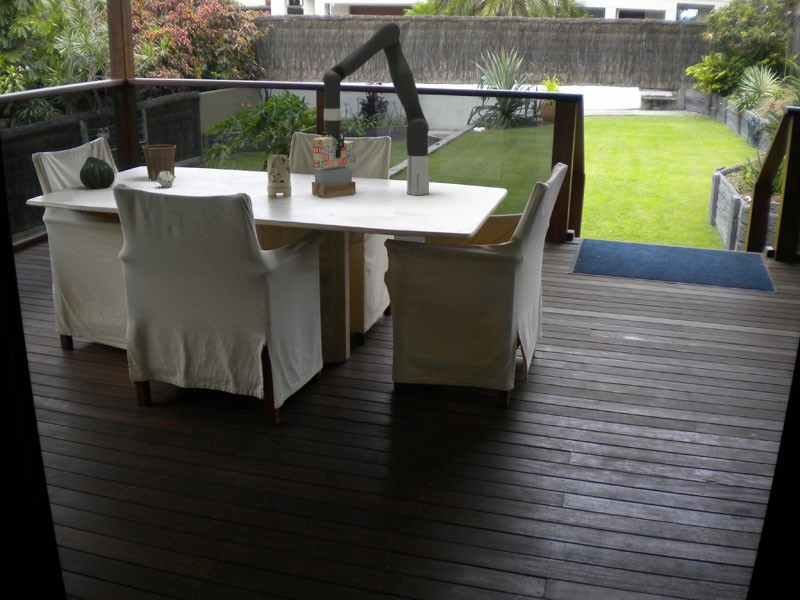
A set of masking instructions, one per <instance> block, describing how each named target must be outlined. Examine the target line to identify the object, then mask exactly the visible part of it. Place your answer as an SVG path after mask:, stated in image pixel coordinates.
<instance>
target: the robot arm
mask: <svg viewBox="0 0 800 600" xmlns="http://www.w3.org/2000/svg"><path fill="white" fill-rule="evenodd" d="M400 37H401V29H400V27H399V25H398V24H396V23H395V22H393V21H385V22H384V23H382V24H380V26H379V27H378V29H377V31H376V32H375V33H374V35H373V36H371V37H370V38H369V39H368V40H367V41H365V42H364V44H362V45H361V46H359V47H358V48H356V49H355V50H354V51H353V50H352V52H351V53H349V54H348V55H347V56H346V57H344V58H343V59H342V60H341V61H339V63H337V64H336V65H335V66H333V67H332V68H331V69H329V70H328V71H327V72H325V73H324V74H323V76H322V83H323V84H324V96H323V108H324V109H323V129H324V131H322V132H321V138H322V137H331V138H336V139H337V137H338V142H335V148H336V158H341V149H342V148H344V141H345V134H344V133H342V134H341V133H340V131H341V130H342V109H341V82H342V81H344V80H345V79H346V78H347V77H350V76H351V75H352V74H354V73H355V72H357V71H358V70H359V69H360V68H362V67H363V66H364V65H365V64H366V63H367V62H369V60H371V58H372V57H374V56H375V55H376V54H378V53H379V52H380V51H382V50H383V52H384V54H385V57H386V60H387V64H388V70H389V74H390V79H391V82H392V84H393V88H394V90H395V93H396V95H397V98H398V100H399V102H400V104H401V106H402V108H403V110H404V113H405V118H406V122H407V127H406V151H407V153H406V154H407V160H406V162H407V163H406V170H407V171H406V194H407V193H408V194H407V195H410V194H411V195H413V196H423V194H425V195H429V194H430V172H429V146H428V145H429V141H428V140H429V138H428V137H429V130H430V127H429V123H428V121H427V118H426V117H425V114H424V112H423V109H422V106H421V103H420V99H419V94H418V93H419V92H418V89H417V85H416V83H415V82H416V81H415V79H414V76H413V72H412V69H411V67H410V65H409V63H408V62H407V60H406V58H405V56H404V54H403V50H402V46H401V45H402V44H401V42H400V41H401V40H400ZM341 143H342V145H341ZM337 145H338V146H337ZM428 193H429V194H428Z"/></svg>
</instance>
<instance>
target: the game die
mask: <svg viewBox="0 0 800 600" xmlns="http://www.w3.org/2000/svg"><path fill="white" fill-rule="evenodd" d="M176 177H177V176H175V175H174V176H173V175H172V174H171V173H170V172H169V170H168V171H162V172H160V171H159V175H158V178H157V180H156V181H155V182H157V183H158V184H159V185H160V186H161V188H162V189H164V188H165V187H172V186H173V183H174V180H175V178H176Z"/></svg>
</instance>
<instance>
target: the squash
mask: <svg viewBox="0 0 800 600" xmlns="http://www.w3.org/2000/svg"><path fill="white" fill-rule="evenodd" d="M115 175H116V174H115V172H114V169H113V168H112V166H111V165H110V164H109V163H108V162H106V161H105V160H103V159H100V158H97V157H94V156H88V157H87V158H86V159H85V161H84V164H83V165H82V167H81V169H80V171H79V180H80V182H81V183H82V184H83V186H85V187H86V188H88V187H89V189H91V188H94V189H97V190H98V188H99V189H101V188H103V187H104V188H107V187H109V188H110V186H112V185H113V184H114V182H115Z"/></svg>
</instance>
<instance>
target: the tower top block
mask: <svg viewBox="0 0 800 600" xmlns="http://www.w3.org/2000/svg"><path fill="white" fill-rule="evenodd" d="M352 170H353V169H352V168H350V167H349V166H344V165H338V166H332V167H327V168H320V167H314V182H317V183H320V184H322V185H323V184H336V183H349V182H352V181H353V175H352V174H353V171H352Z"/></svg>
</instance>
